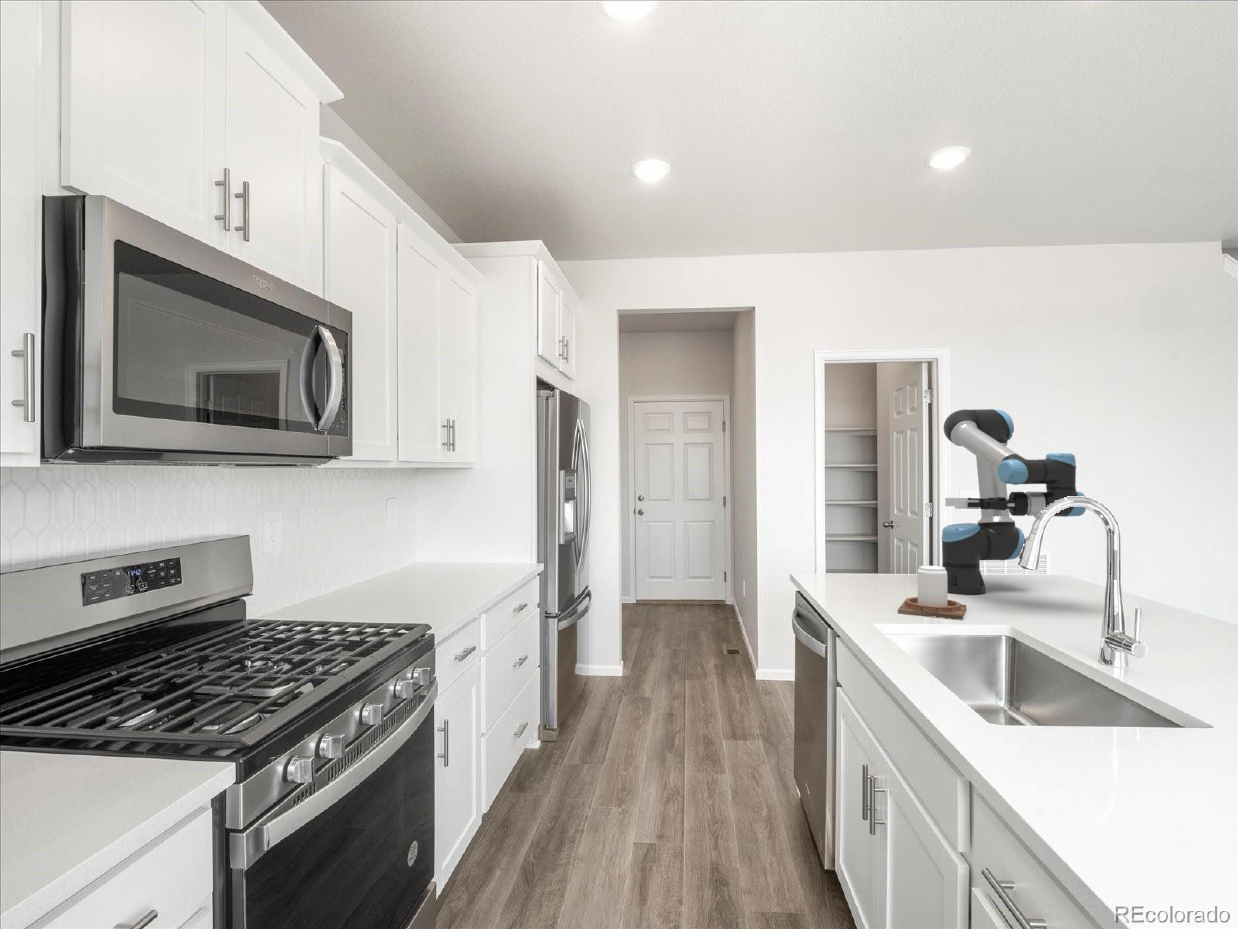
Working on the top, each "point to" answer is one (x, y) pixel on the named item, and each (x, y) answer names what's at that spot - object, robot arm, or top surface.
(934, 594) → the beverage can
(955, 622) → the top surface
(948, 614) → the coaster board
